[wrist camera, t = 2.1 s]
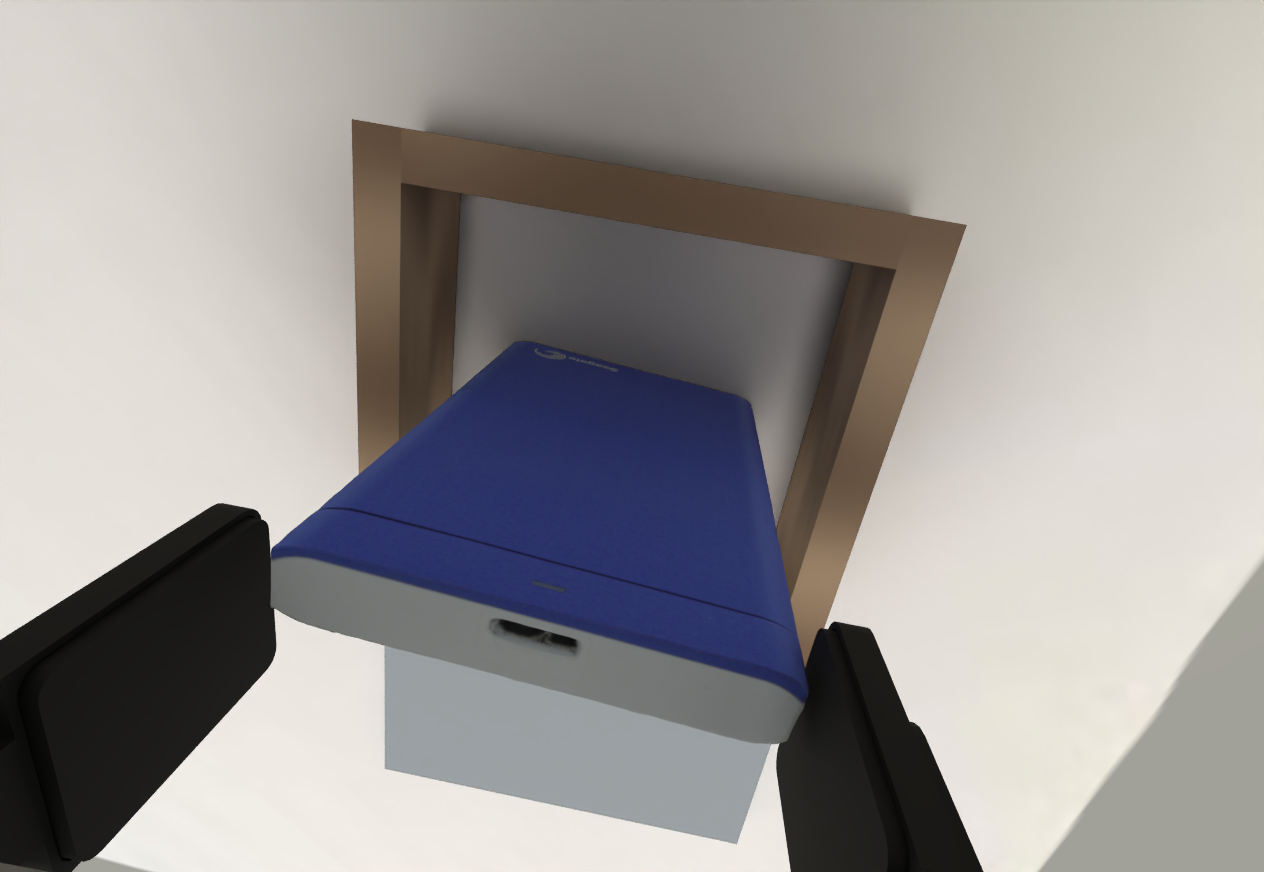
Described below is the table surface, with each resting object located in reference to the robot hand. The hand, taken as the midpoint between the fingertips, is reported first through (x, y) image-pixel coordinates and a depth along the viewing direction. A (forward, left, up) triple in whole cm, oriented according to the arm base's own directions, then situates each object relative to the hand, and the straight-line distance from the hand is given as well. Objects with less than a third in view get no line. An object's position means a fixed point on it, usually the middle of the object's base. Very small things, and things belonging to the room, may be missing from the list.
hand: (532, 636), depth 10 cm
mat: (+14, 0, -11) cm, 18 cm away
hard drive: (-1, 0, -12) cm, 12 cm away
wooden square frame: (-1, 0, -11) cm, 11 cm away
